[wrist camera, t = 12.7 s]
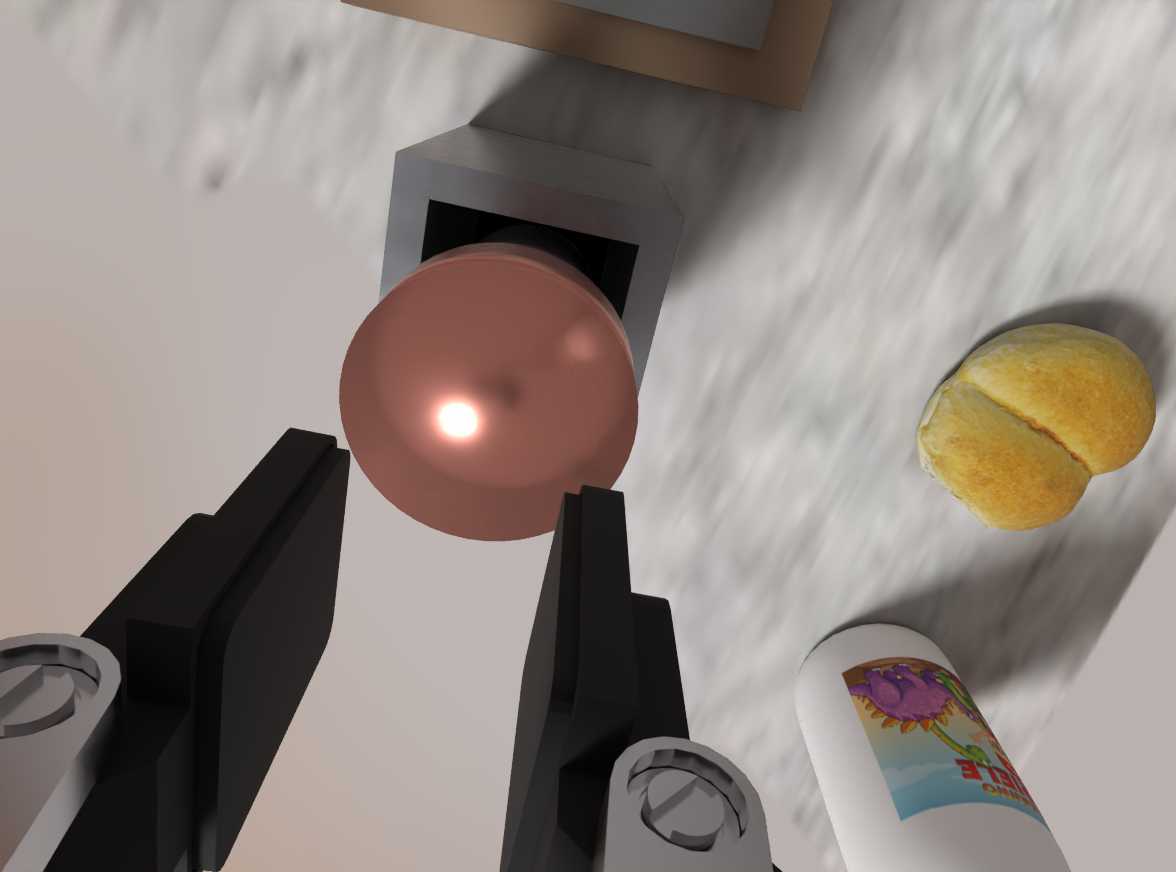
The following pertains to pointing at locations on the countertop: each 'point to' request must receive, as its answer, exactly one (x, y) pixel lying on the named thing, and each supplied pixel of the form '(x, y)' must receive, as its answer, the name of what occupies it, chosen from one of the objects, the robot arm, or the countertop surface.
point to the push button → (491, 387)
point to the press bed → (654, 37)
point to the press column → (537, 212)
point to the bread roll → (1035, 422)
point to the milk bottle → (913, 761)
